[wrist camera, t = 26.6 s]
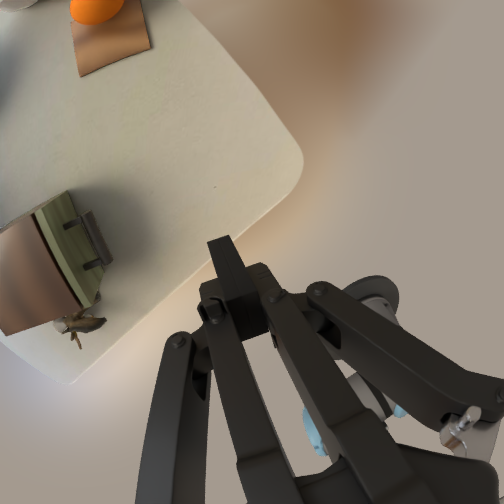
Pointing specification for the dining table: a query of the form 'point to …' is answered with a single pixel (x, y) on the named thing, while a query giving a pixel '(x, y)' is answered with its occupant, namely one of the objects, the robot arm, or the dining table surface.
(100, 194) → the dining table surface
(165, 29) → the dining table surface
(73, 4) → the orange
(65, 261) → the drawer
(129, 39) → the coaster
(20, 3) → the teacup
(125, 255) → the dining table surface
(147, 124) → the dining table surface
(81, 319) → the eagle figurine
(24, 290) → the cabinet
